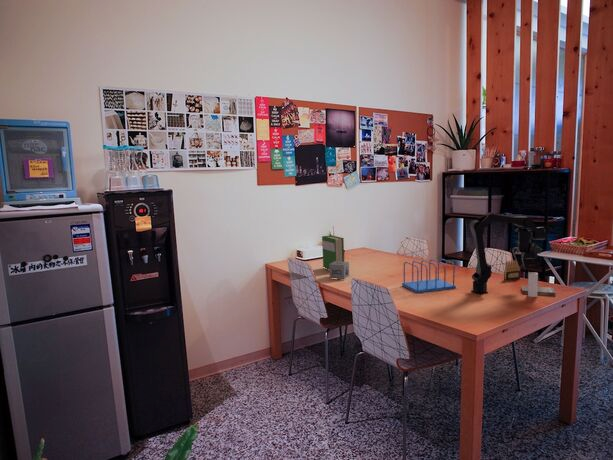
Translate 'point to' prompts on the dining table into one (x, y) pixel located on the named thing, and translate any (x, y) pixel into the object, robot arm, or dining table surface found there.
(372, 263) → the dining table surface
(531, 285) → the white box
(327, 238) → the hardback book
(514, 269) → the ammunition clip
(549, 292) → the plank
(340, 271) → the icon cube
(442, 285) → the file sorter
